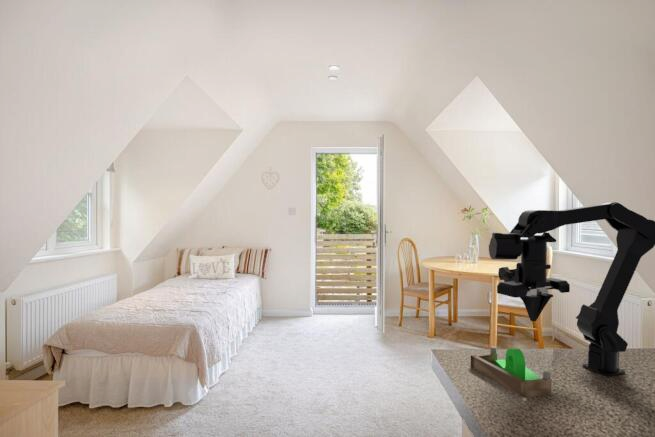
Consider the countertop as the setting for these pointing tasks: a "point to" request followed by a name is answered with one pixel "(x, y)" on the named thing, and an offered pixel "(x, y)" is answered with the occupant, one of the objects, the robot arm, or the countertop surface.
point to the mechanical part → (516, 365)
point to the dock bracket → (510, 376)
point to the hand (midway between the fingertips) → (533, 321)
